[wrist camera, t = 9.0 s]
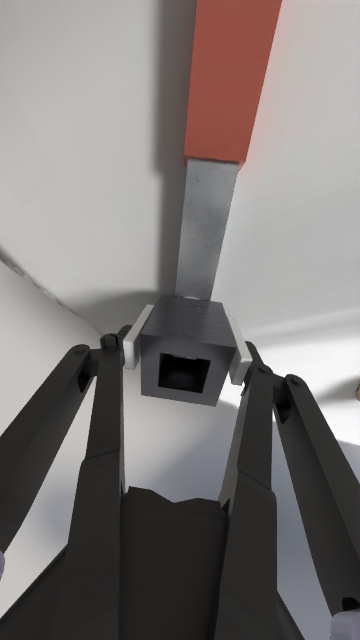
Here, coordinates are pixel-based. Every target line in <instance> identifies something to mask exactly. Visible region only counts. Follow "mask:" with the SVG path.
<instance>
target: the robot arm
mask: <svg viewBox="0 0 360 640" xmlns="http://www.w3.org/2000/svg"><path fill="white" fill-rule="evenodd" d="M153 310H154V305H148V304H147V306H146V307H145V309H144V310H143V312H142V313H141V315H140V316H139V318H138V319H137V321H136V322H135V324H134V325H133V326H132V325H125V326H124V327H122V328H121V330H120V331H119V332H118V334H113V333H110V334H106V335H103V336H102V337H101V338H100V343H101V349H90V347H89V346H88V345H84V344H81V345H76V346H74V347H72V348H71V349H70V350H69V351H68V352H67V354H66V355H65V356H64V357H63V359H62V360H61V361H60V362H59V364H58V365H57V366H56V367H55V369H54V370H53V371H52V372H51V374H50V375H49V376H48V377H47V379H46V380H45V381H44V382H43V384H42V385H41V386H40V387H39V389H38V390H37V391H36V392H35V394H34V395H33V396H32V398H31V399H30V400H29V401H28V402H27V404H26V405H25V406H24V407H23V409H22V410H21V411H20V413H19V414H18V415H17V416H16V418H15V419H14V420H13V421H12V423H11V424H10V425H9V426H8V428H7V429H6V430H5V431H4V433H3V434H2V435H1V437H0V580H1V577H2V574H3V571H4V565H5V558H4V553H5V551H6V550H7V548H8V546H9V545H10V543H11V542H12V540H13V538H14V537H15V535H16V533H17V532H18V530H19V528H20V527H21V525H22V523H23V521H24V519H25V517H26V515H27V513H28V512H29V510H30V508H31V506H32V503H33V502H34V499H35V497H36V495H37V493H38V491H39V489H40V487H41V485H42V483H43V481H44V479H45V477H46V475H47V473H48V471H49V469H50V467H51V465H52V462H53V460H54V458H55V456H56V454H57V452H58V450H59V448H60V446H61V444H62V442H63V440H64V438H65V436H66V434H67V432H68V429H69V428H70V426H71V424H72V422H73V419H74V418H75V415H76V413H77V411H78V409H79V407H80V405H81V403H82V401H83V399H84V397H85V395H86V393H87V391H88V389H89V387H90V385H91V383H92V381H93V378H94V376H97V381H96V388H95V395H94V402H93V408H92V415H91V422H90V429H89V436H88V443H87V449H86V456H85V459H84V460H83V461H82V463H81V466H80V471H79V477H78V483H77V489H76V496H75V501H74V508H73V513H72V520H71V526H70V532H69V539H68V544H67V545H66V546H65V547H64V548H63V549H62V550H61V552H60V553H59V554H58V555H57V556H56V557H55V558H54V559H53V560H52V562H51V563H50V564H49V565H48V566H47V567H46V568H45V569H44V570H43V572H42V573H41V574H40V575H39V576H38V577H37V578H36V579H35V580H34V582H33V583H32V584H31V585H30V586H29V587H28V588H27V589H26V590H25V592H24V593H23V594H22V595H21V596H20V597H19V598H18V599H17V601H16V602H15V603H14V604H13V605H12V606H11V607H10V608H9V609H8V611H7V612H6V613H5V614H4V615H3V616H2V617H1V619H0V640H305V639H304V638H303V636H302V634H301V632H300V630H299V629H298V627H297V625H296V623H295V621H294V620H293V618H292V616H291V615H290V612H289V611H288V609H287V607H286V605H285V604H284V602H283V600H282V598H281V596H280V595H279V593H278V591H277V503H276V496H275V494H274V492H273V491H272V488H271V463H272V414H273V411H274V415H275V419H276V423H277V426H278V430H279V434H280V438H281V442H282V445H283V449H284V453H285V456H286V460H287V464H288V468H289V472H290V476H291V480H292V483H293V487H294V491H295V494H296V499H297V502H298V506H299V510H300V514H301V517H302V521H303V525H304V529H305V533H306V537H307V540H308V544H309V548H310V551H311V556H312V559H313V562H314V566H315V569H316V572H317V576H318V579H319V582H320V585H321V588H322V591H323V594H324V596H325V599H326V602H327V605H328V607H329V610H330V613H331V615H332V621H331V636H330V640H360V484H359V482H358V480H357V479H356V476H355V475H354V473H353V471H352V469H351V467H350V465H349V463H348V461H347V459H346V458H345V456H344V454H343V452H342V450H341V448H340V446H339V444H338V442H337V440H336V439H335V437H334V435H333V433H332V431H331V429H330V427H329V425H328V424H327V422H326V420H325V418H324V416H323V414H322V412H321V410H320V408H319V407H318V405H317V403H316V401H315V399H314V397H313V395H312V393H311V391H310V390H309V388H308V386H307V384H306V383H305V381H304V380H302V379H301V378H300V377H298V376H296V375H293V374H287V375H286V376H285V378H284V377H281V376H278V375H276V374H274V373H273V371H272V370H271V368H269V367H268V366H267V365H265V364H264V363H263V361H262V359H261V357H260V355H259V354H258V351H257V349H256V347H255V346H254V345H253V344H252V343H251V342H248V341H244V338H243V336H242V334H241V331H240V329H239V327H238V324H237V322H236V320H235V317H234V316H228V315H227V320H228V323H229V326H230V329H231V332H232V335H233V338H234V341H235V344H236V347H237V348H236V351H235V354H234V357H233V359H232V362H231V365H230V368H229V375H230V379H231V384H233V385H240V386H241V385H242V383H243V381H244V383H245V387H244V389H243V391H242V393H241V396H242V398H241V402H240V407H239V412H238V416H237V421H236V426H235V430H234V434H233V439H232V444H231V448H230V453H229V457H228V462H227V467H226V471H225V476H224V480H223V485H222V489H221V492H220V495H219V498H218V501H213V500H207V499H201V498H195V499H190V500H186V501H181V502H177V503H173V502H171V501H169V500H167V499H166V498H164V497H162V496H161V495H159V494H157V493H155V492H154V491H152V490H149V489H143V488H137V487H131V486H129V489H128V492H127V493H125V474H124V417H123V370H122V368H123V366H124V364H125V368H126V369H133V370H134V369H135V367H136V365H137V363H138V361H139V358H140V356H141V344H140V333H141V332H142V330H143V328H144V326H145V324H146V322H147V321H148V319H149V317H150V315H151V313H152V311H153Z"/></svg>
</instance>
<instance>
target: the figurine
mask: <svg viewBox="0 0 360 640" xmlns="http://www.w3.org/2000/svg"><path fill="white" fill-rule="evenodd" d="M356 396H357V398H358V399H359V400H360V387H359V389H358V391H356Z"/></svg>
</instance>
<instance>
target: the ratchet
mask: <svg viewBox="0 0 360 640" xmlns="http://www.w3.org/2000/svg"><path fill="white" fill-rule="evenodd" d="M281 3H282V0H197V5H196V16H195V28H194V39H193V51H192V62H191V74H190V86H189V97H188V109H187V120H186V132H185V144H184V161H185V166H186V168H187V175H186V185H185V196H184V206H183V216H182V226H181V237H180V247H179V257H178V267H177V278H176V288H175V295H174V296H176V297H183V298H191V299H198V300H205V301H210V299H211V294H212V289H213V285H214V280H215V276H216V271H217V266H218V262H219V257H220V252H221V248H222V243H223V238H224V234H225V229H226V224H227V220H228V215H229V210H230V206H231V201H232V196H233V192H234V187H235V182H236V178H237V173H238V172H239V170H240V169H241V167H242V166H243V165H244V163H245V161H246V157H247V152H248V148H249V144H250V139H251V135H252V130H253V126H254V122H255V117H256V113H257V108H258V104H259V100H260V95H261V91H262V86H263V82H264V78H265V73H266V69H267V64H268V60H269V56H270V51H271V47H272V42H273V38H274V33H275V29H276V25H277V20H278V16H279V11H280V7H281ZM173 357H180V358H186V359H193V360H196V359H197V358H193V357H186V356H179V355H173Z"/></svg>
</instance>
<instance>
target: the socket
mask: <svg viewBox="0 0 360 640" xmlns="http://www.w3.org/2000/svg"><path fill="white" fill-rule="evenodd" d="M140 344H141V395H144V396H151V397H158V398H164V399H170V400H176V401H183V402H189V403H196V404H202V405H210V406H216V404H217V401H218V398H219V396H220V393H221V390H222V387H223V384H224V382H225V379H226V376H227V373H228V370H229V368H230V365H231V362H232V359H233V357H234V354H235V351H236V348H237V347H236V344H235V341H234V338H233V335H232V332H231V329H230V326H229V323H228V320H227V317H226V314H225V311H224V308H223V305H222V303H220V302H212V301H205V300H198V299H191V298H183V297H176V296H169V295H161V297H160V299H159V300H158V302H157V304H156V306H155V308H154V310H153V311H152V313H151V315H150V317H149V319H148V321H147V322H146V324H145V326H144V328H143V330H142V332H141V333H140ZM173 355H179V356H186V357H193V358H197V359H196V360H193V359H186V358H180V357H173Z"/></svg>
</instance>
